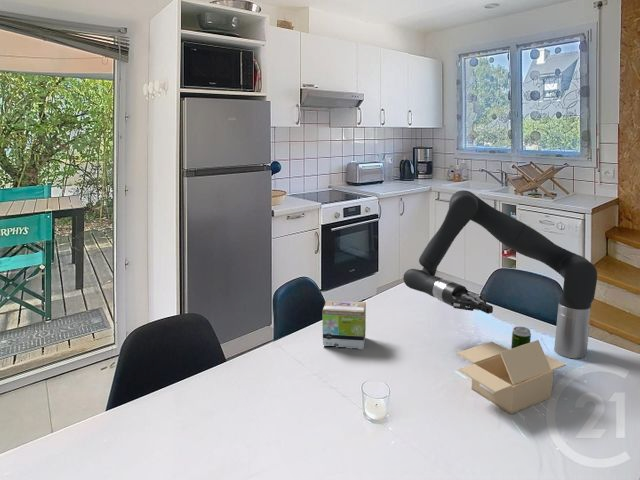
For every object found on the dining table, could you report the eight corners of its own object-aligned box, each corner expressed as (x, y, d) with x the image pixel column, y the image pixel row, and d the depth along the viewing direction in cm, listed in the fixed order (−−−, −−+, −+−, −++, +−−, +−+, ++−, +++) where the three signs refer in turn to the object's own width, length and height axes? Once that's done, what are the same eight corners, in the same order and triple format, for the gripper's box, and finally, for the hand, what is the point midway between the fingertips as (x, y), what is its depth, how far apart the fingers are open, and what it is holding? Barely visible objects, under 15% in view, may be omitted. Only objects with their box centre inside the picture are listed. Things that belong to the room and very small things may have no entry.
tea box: (322, 348, 156) (321, 309, 153) (326, 336, 166) (325, 299, 162) (364, 350, 153) (364, 311, 150) (366, 337, 163) (365, 300, 160)
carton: (504, 360, 143) (506, 336, 141) (564, 391, 125) (567, 364, 123) (439, 383, 131) (440, 357, 129) (495, 421, 113) (497, 392, 111)
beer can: (522, 370, 137) (524, 335, 134) (506, 363, 141) (509, 329, 139) (531, 365, 140) (534, 330, 137) (516, 358, 144) (518, 325, 142)
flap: (550, 370, 121) (537, 340, 123) (551, 369, 120) (538, 339, 123) (512, 384, 114) (499, 352, 117) (513, 384, 114) (500, 352, 116)
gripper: (434, 285, 140) (475, 302, 125) (465, 279, 146) (507, 294, 131) (433, 306, 142) (473, 326, 127) (463, 299, 148) (505, 317, 133)
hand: (491, 310), depth 129 cm, fingers closed
